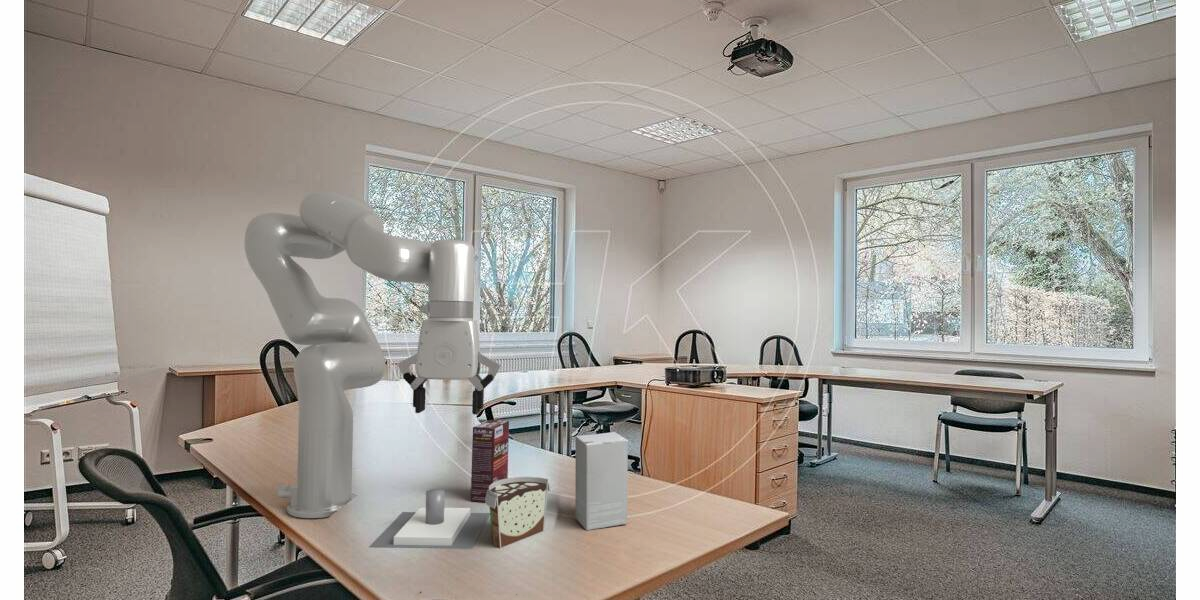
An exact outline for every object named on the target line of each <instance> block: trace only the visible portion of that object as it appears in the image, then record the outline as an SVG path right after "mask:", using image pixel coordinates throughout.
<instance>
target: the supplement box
mask: <svg viewBox="0 0 1200 600" xmlns="http://www.w3.org/2000/svg"><path fill="white" fill-rule="evenodd" d="M509 432H510V420H505V419H504V420H502V419H501V420H500V419H488V420H486V421H484V422H482V423H480V424H478V425H474V426H473V427H472V445H471V446H472V447H471V477H470V503H480V504H486V502H485V498H486V494H487V490H488V489H489V486H490V485H491V484H492V483H494V482H496V481H499V480H502V479H507V478H508V476H509V437H510V436H509V435H510V433H509Z"/></svg>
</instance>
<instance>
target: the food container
mask: <svg viewBox="0 0 1200 600" xmlns="http://www.w3.org/2000/svg"><path fill="white" fill-rule="evenodd" d="M550 491H551V486H550V482H549V478H545V477H538V476H516V477H515V476H514V477H509V478H507V479H502V480H499V481H496V482H494V483H492V484H491V485H490V486H489V489H488V490H487V494H486V498H485V502H486V503H485V504H486V505H487V506H489V513H490V516H489V518H490V520H489V521H490V531H491V533H490V534H491V543H492V544H493V545H494V546H495V547H497V548H498V549H501V548H504V547H506V546H509V545H512V544H514V543H517V542H519V541H522V540H525V539H526V538H529V537H532V536H534V535H537V534H539V533H541V532H545V524H546V523H545V522H546V513H547V512H546V511H547V502H548V492H550Z"/></svg>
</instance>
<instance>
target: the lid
mask: <svg viewBox="0 0 1200 600" xmlns="http://www.w3.org/2000/svg"><path fill="white" fill-rule="evenodd" d="M445 492H446V490H444V489H443V488H442V489H440V488H432V489H429V490H427V491H426V492H425V507H419V509H417V511H415V512H416V513H415V514H414V515H413V516H412V517H411V519H410V520H409V521H408V522H407V523H406V524H405V525H404V526H403V527H402V528H401V530H400V531H399V532H398V533H397V534H396V535H395V536H394V545H445V546H451V545H452V543H453V542H454V540H455V539H456V537H457V535H458V534H459V532H460V531H461V529H462V527H463V526H464V524H465V523H466V521H467V519H468V518H469V516H470V513H471V509H472V508H471V507H445Z"/></svg>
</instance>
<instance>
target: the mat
mask: <svg viewBox="0 0 1200 600" xmlns="http://www.w3.org/2000/svg"><path fill="white" fill-rule="evenodd" d="M416 512H417V511H402V512H401V513H400V514H399V515H398V516H397V518H395V519H394V520H393V521H392V522H391V524H389V526H388V527H386V529H385V530H383V532H382V533H381V534H380V535H379V536H378V537H376V539H375V540H373V542H372V543H371V544H370V545H369V547H368V548H382V549H383V548H389V549H390V548H392V549H397V548H399V549H401V548H402V549H454V550H455V549H458V550H459V549H460V550H461V549H463V550H467V549H468V550H470V549H471V550H473V547H474V546H475V544H476V542H477V540H478V538H479V537H480V534H481V533H482V531H483V529H484V527H485V525H486V524H487V521H488V520H489V518H490V512H470V516H469V518H468V519H467V521H466V523H465V524H464V526H463V527H462V529H461V531H460V532H459V534H458V535H457V537H456V539H455V540H454V542H453V543H452V545H451V546H445V545H394V536H395V535H396V534H397V533H398V532H399V531H400V530H401V528H402V527H403V526H404V525H405V524H406V523H407V522H408V521H409V520H410V519H411V517H412V516H413V515H414V514H415V513H416Z"/></svg>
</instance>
